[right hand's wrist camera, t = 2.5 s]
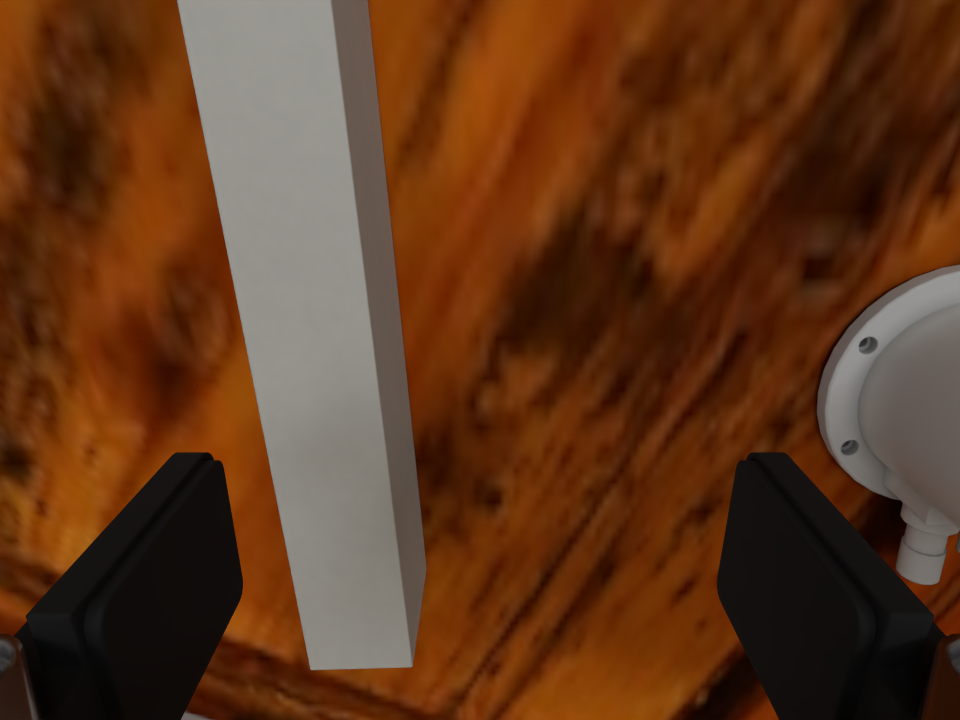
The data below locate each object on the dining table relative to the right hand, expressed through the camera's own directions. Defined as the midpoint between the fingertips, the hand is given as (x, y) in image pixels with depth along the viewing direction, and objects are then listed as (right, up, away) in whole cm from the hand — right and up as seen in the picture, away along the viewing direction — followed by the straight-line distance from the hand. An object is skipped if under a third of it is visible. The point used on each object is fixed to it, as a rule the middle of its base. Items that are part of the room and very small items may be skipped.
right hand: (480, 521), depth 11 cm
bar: (-7, +15, +16) cm, 23 cm away
